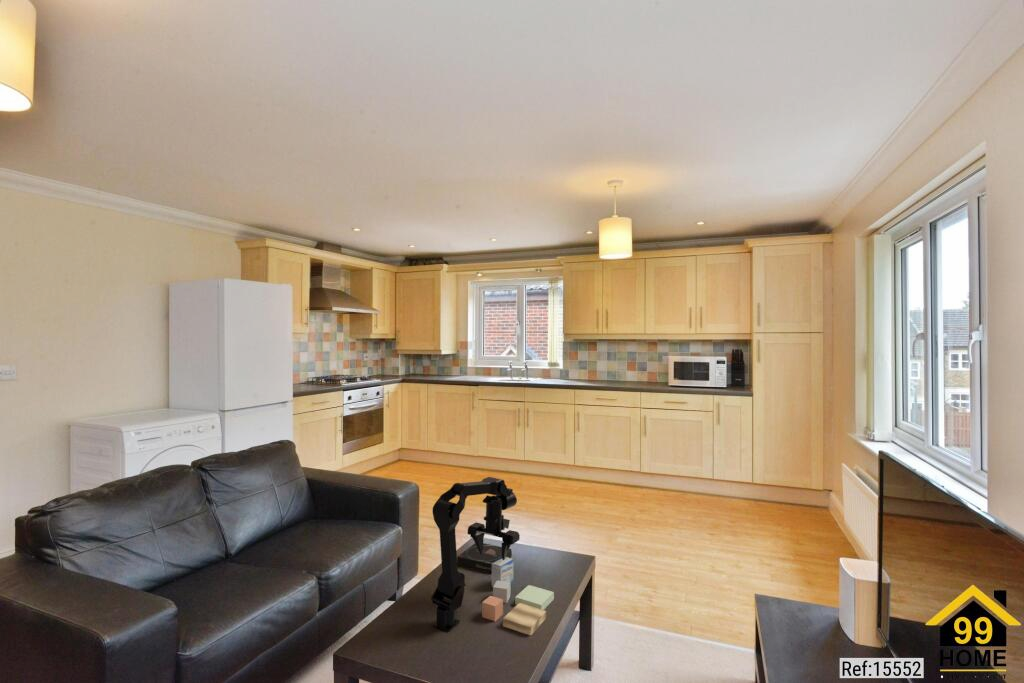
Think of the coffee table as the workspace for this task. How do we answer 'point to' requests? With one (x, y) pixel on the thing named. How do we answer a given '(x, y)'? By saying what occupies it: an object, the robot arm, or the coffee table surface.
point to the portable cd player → (481, 557)
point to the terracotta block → (492, 608)
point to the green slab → (535, 597)
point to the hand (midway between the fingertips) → (492, 557)
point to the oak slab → (524, 618)
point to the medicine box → (502, 570)
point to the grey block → (502, 590)
